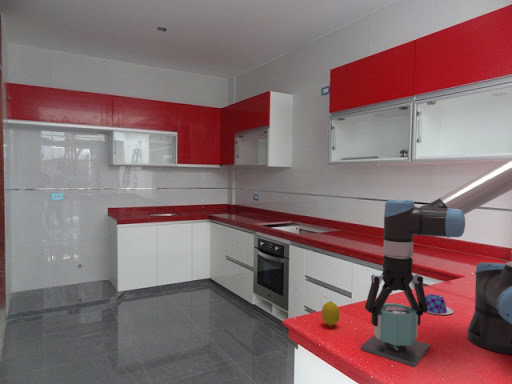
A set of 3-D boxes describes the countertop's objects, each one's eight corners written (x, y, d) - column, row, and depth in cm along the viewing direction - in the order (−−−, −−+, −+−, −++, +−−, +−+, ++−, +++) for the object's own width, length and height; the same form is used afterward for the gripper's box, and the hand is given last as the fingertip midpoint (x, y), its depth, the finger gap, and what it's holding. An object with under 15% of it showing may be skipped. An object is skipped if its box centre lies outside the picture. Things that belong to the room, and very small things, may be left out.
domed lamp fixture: (429, 347, 100) (430, 308, 99) (414, 366, 89) (415, 322, 89) (379, 333, 109) (380, 297, 108) (360, 349, 98) (361, 309, 98)
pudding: (424, 315, 125) (424, 300, 125) (411, 304, 137) (411, 290, 137) (459, 317, 125) (460, 302, 124) (443, 305, 137) (444, 292, 136)
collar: (403, 330, 104) (404, 303, 104) (421, 345, 94) (422, 315, 94) (371, 330, 103) (372, 303, 103) (386, 345, 93) (387, 315, 93)
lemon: (317, 326, 114) (318, 301, 114) (327, 321, 118) (328, 297, 117) (332, 331, 110) (333, 305, 110) (342, 326, 114) (343, 301, 114)
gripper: (428, 253, 103) (426, 330, 103) (353, 253, 101) (351, 331, 101) (444, 258, 95) (442, 342, 96) (363, 258, 94) (361, 343, 94)
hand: (395, 336), depth 99 cm, fingers closed on collar, 9 cm apart
